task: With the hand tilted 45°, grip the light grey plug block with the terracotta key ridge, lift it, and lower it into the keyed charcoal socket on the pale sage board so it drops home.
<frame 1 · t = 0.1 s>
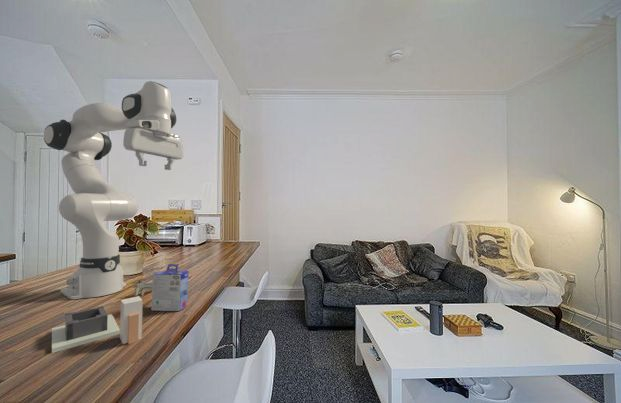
hand: (155, 167, 90), 48 cm above the breakfast bar, tool pointing down, fingers open, 8 cm apart
plug: (130, 338, 67), on the breakfast bar
ink cartridge box: (170, 308, 86), on the breakfast bar
socket: (85, 332, 69), on the breakfast bar
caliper: (163, 290, 105), on the breakfast bar
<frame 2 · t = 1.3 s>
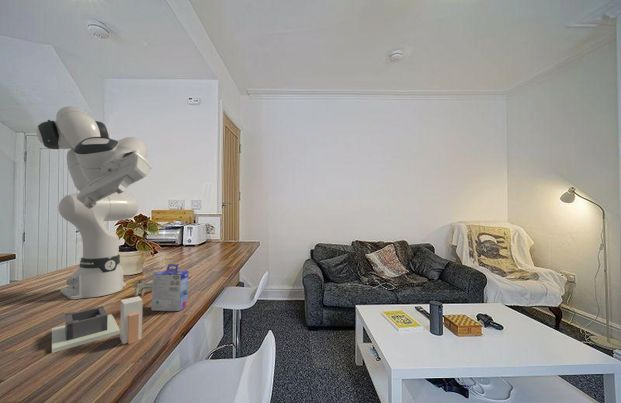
hand: (103, 198, 67), 36 cm above the breakfast bar, tool tilted 50°, fingers open, 8 cm apart
nothing on the breakfast bar moved.
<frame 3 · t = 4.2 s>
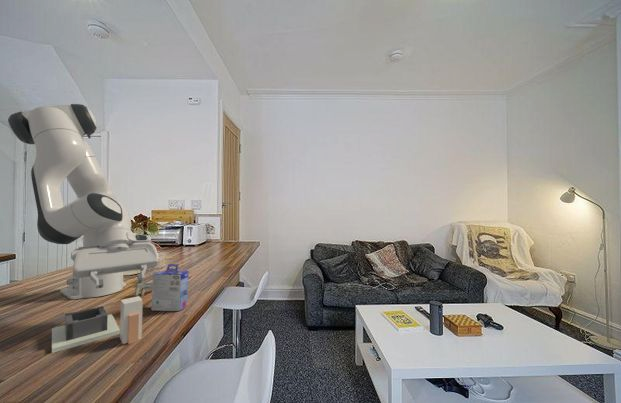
hand: (121, 283, 72), 13 cm above the breakfast bar, tool tilted 45°, fingers open, 8 cm apart
nothing on the breakfast bar moved.
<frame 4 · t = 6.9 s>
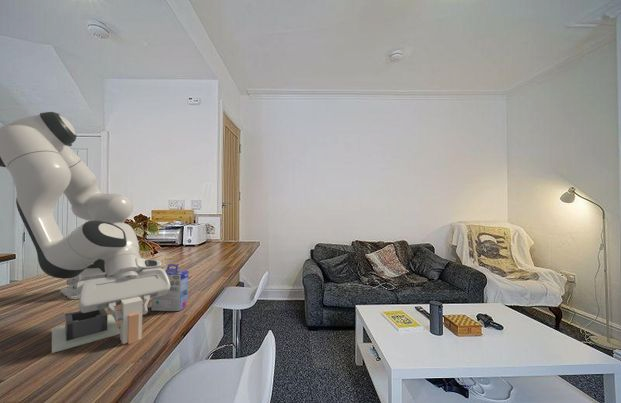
hand: (132, 316, 66), 6 cm above the breakfast bar, tool tilted 45°, fingers closed on plug, 4 cm apart
plug: (130, 338, 67), on the breakfast bar, touching gripper
everything else where it was.
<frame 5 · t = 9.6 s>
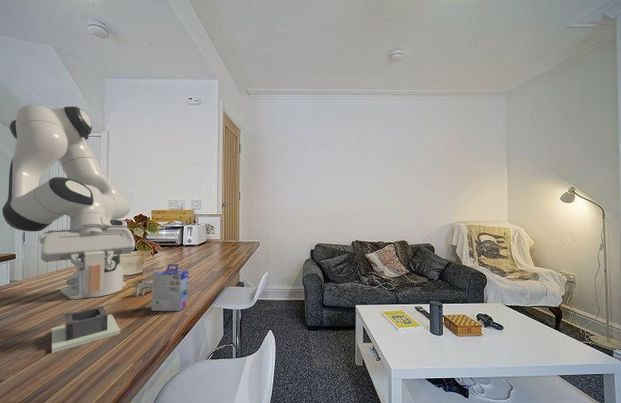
hand: (94, 268, 70), 18 cm above the breakfast bar, tool tilted 45°, fingers closed on plug, 4 cm apart
plug: (93, 289, 70), point 12 cm above the breakfast bar, touching gripper
everything else where it was.
when the fingers open (8 cm above the breakfast bar, at t = 12.4 s): plug drops 1 cm, resting on socket.
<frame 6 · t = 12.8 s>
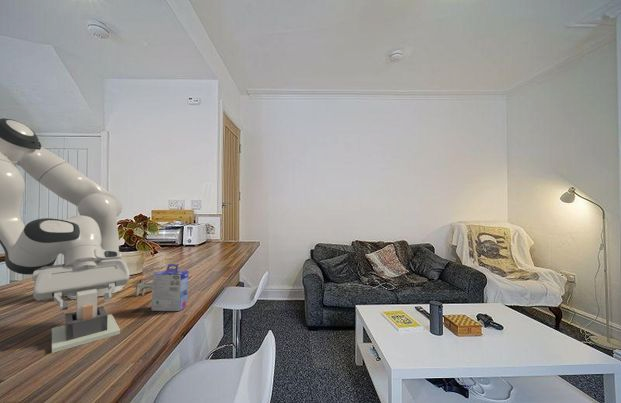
hand: (86, 304, 69), 8 cm above the breakfast bar, tool tilted 45°, fingers open, 8 cm apart
plug: (86, 329, 69), point 1 cm above the breakfast bar, touching socket
everything else where it was.
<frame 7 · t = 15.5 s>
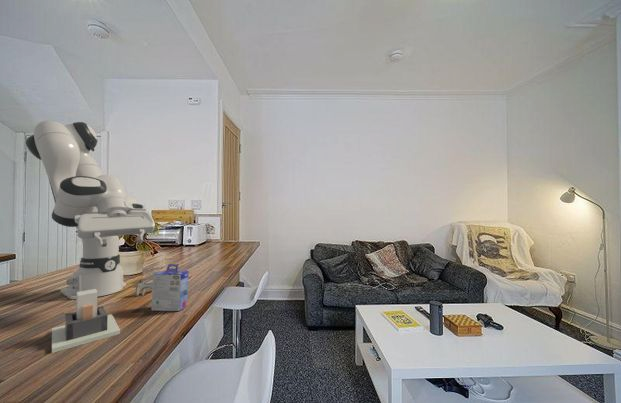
hand: (122, 243, 80), 23 cm above the breakfast bar, tool tilted 45°, fingers open, 8 cm apart
nothing on the breakfast bar moved.
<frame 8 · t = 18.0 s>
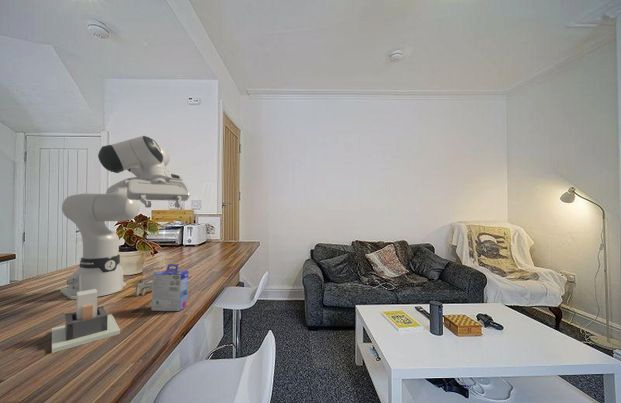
hand: (163, 206, 91), 34 cm above the breakfast bar, tool tilted 45°, fingers open, 8 cm apart
nothing on the breakfast bar moved.
at the end: plug 0.1 cm from the socket (horizontally); plug point 1.0 cm above the breakfast bar; plug tilted 0° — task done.
